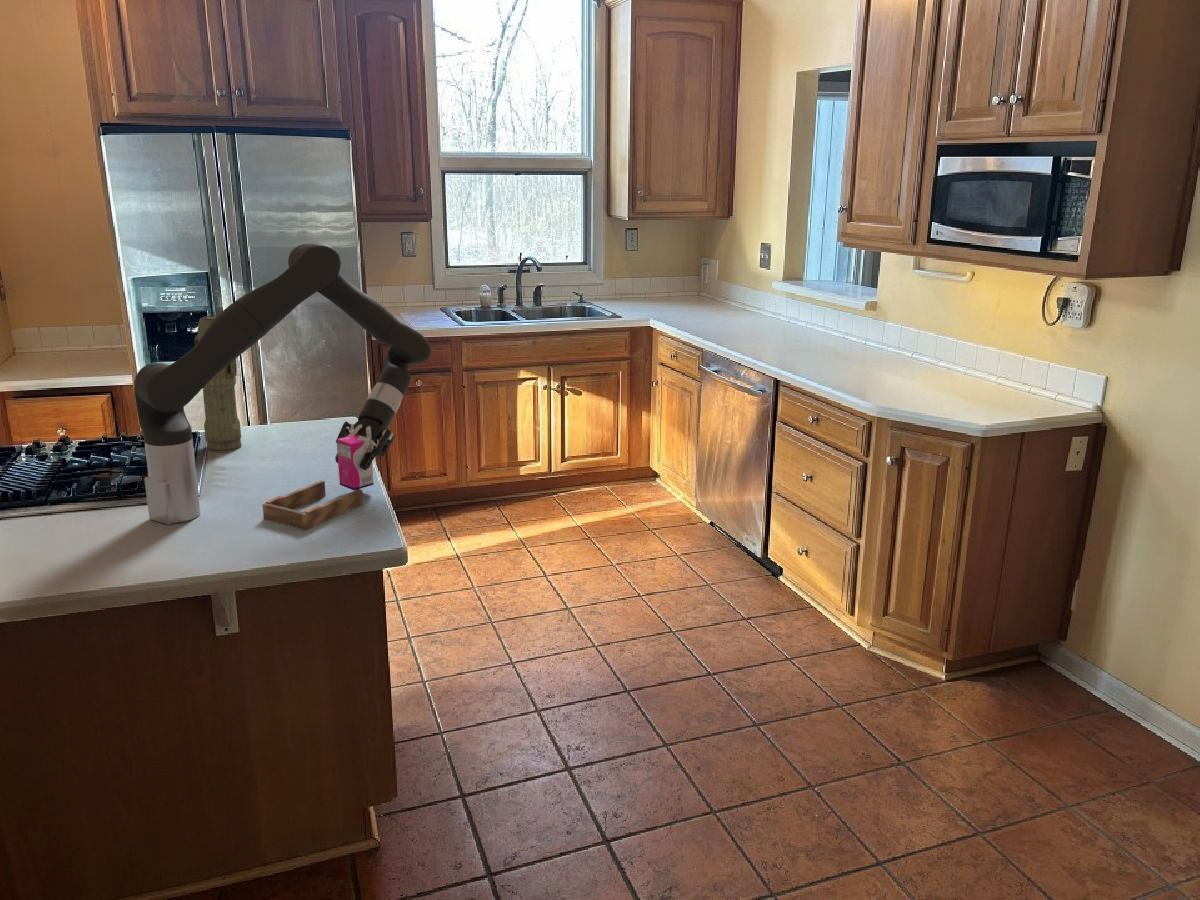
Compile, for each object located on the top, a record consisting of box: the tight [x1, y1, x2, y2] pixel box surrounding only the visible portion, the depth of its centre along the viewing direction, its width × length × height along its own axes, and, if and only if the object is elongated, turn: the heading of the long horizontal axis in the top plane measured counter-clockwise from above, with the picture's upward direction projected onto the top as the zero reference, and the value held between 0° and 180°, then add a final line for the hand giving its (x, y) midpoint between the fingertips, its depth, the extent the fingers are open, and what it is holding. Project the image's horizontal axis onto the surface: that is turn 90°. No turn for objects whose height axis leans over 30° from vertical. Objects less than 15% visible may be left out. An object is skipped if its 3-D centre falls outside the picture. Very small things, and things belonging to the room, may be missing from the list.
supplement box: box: [336, 435, 375, 491], centre depth 210 cm, size 6×6×12 cm
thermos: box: [193, 315, 242, 453], centre depth 236 cm, size 9×12×35 cm
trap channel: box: [262, 480, 364, 531], centre depth 199 cm, size 18×12×4 cm, turn 154°
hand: (350, 465), depth 209 cm, fingers closed on supplement box, 6 cm apart
